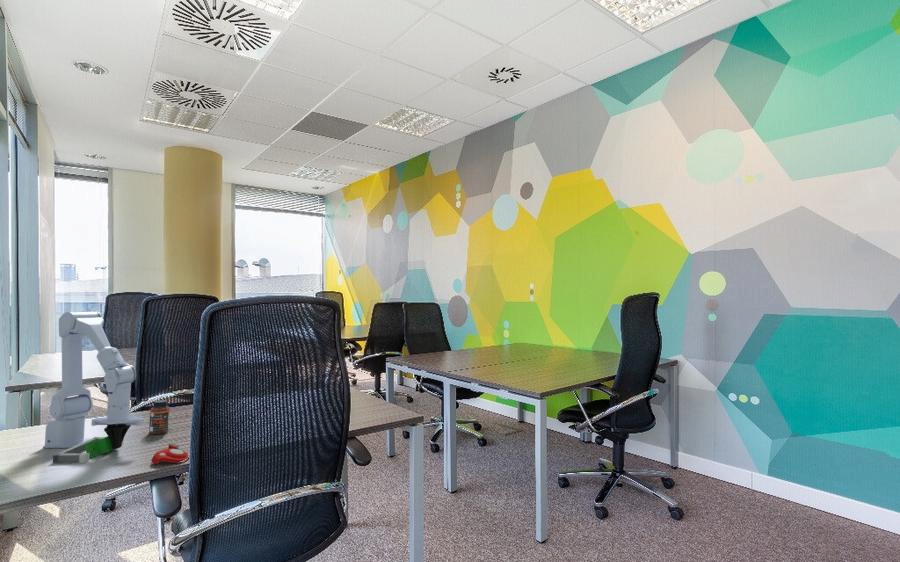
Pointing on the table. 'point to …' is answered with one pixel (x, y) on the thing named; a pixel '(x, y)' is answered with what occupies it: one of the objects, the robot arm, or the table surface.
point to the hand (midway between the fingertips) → (116, 448)
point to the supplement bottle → (159, 417)
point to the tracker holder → (169, 455)
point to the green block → (98, 447)
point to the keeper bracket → (75, 453)
